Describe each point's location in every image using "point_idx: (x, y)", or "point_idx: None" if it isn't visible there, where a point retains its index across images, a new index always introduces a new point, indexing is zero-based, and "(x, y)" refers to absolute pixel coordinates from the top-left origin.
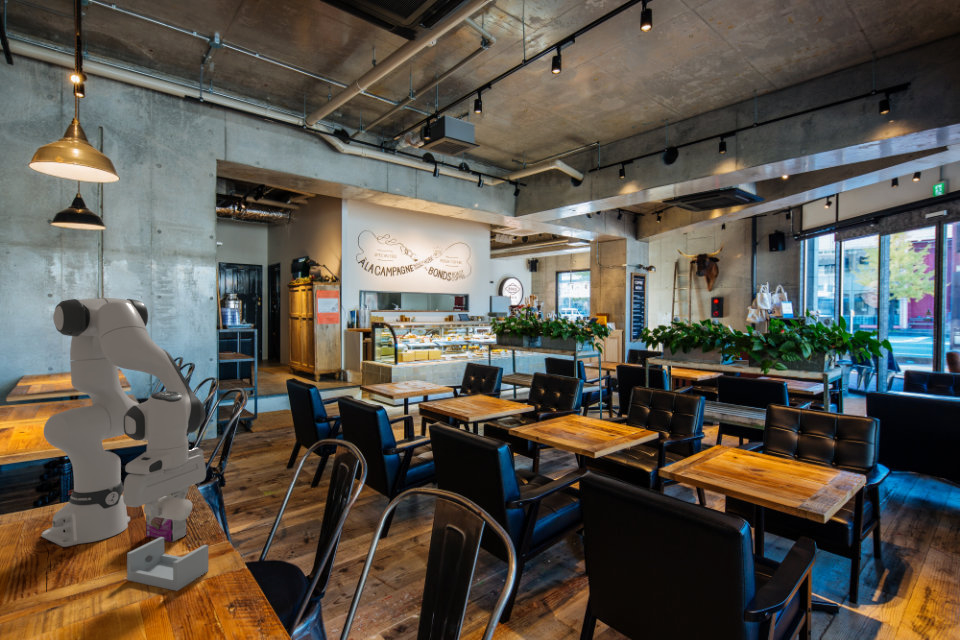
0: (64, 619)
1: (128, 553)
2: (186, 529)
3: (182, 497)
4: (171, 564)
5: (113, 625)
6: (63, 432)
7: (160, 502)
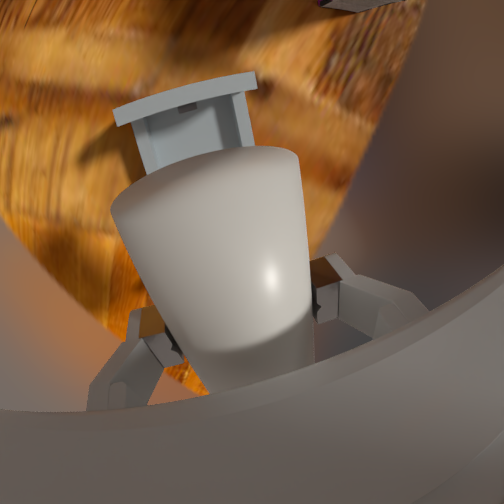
0: (12, 188)
1: (114, 115)
2: (368, 9)
3: (348, 317)
4: (234, 138)
5: (70, 279)
6: None
7: (194, 354)
